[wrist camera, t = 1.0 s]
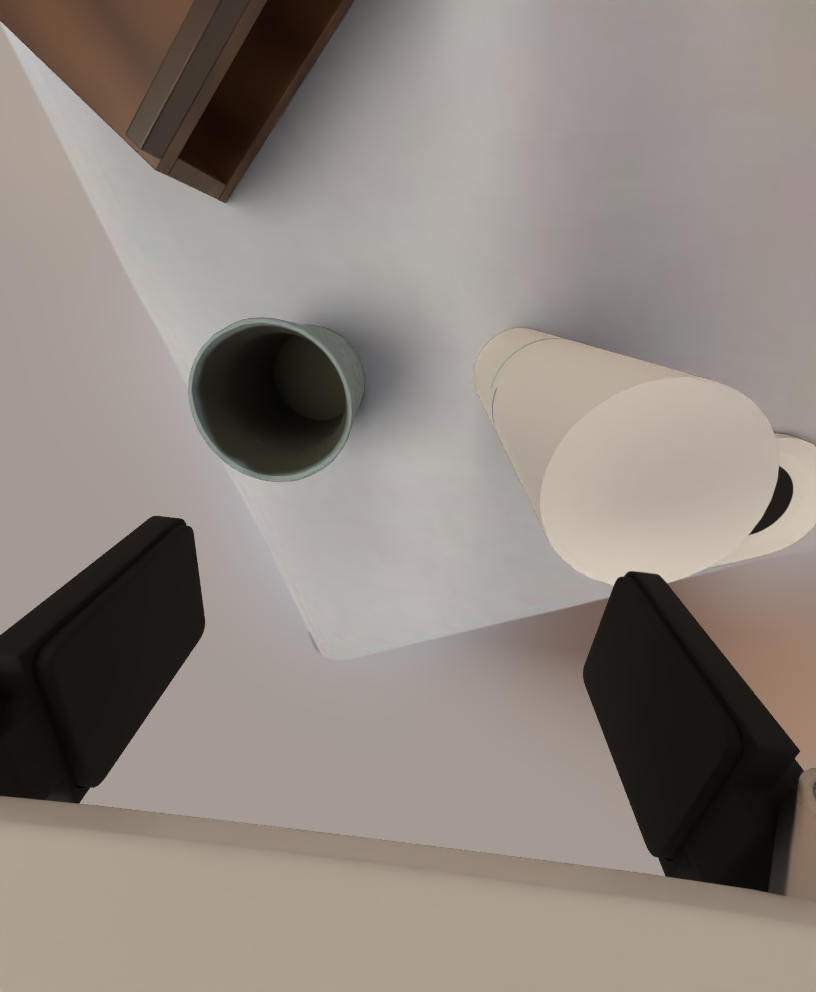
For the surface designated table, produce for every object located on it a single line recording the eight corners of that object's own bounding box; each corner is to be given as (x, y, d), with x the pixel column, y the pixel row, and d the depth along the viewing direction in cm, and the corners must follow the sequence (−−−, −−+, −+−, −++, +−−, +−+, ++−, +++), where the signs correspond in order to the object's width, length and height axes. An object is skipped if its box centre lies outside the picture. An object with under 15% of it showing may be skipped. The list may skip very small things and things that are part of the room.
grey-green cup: (249, 410, 39) (177, 452, 28) (273, 293, 35) (199, 289, 24) (356, 448, 40) (327, 503, 29) (391, 339, 36) (373, 355, 25)
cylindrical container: (470, 413, 38) (524, 580, 15) (478, 326, 35) (561, 371, 12) (552, 417, 38) (732, 592, 15) (567, 329, 35) (820, 383, 12)
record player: (594, 494, 37) (855, 424, 34) (583, 480, 40) (822, 415, 37) (613, 601, 41) (845, 548, 38) (601, 582, 44) (817, 531, 41)
